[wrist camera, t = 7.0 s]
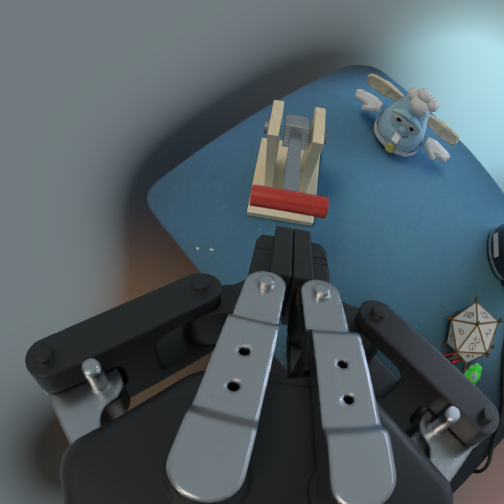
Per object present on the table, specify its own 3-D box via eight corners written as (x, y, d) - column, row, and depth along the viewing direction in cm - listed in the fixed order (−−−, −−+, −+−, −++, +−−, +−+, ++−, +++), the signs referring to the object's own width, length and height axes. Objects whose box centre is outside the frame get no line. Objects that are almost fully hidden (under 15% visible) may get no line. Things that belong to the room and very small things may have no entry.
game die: (444, 344, 35) (471, 390, 26) (420, 320, 33) (452, 372, 24) (484, 303, 32) (519, 344, 22) (466, 273, 30) (508, 316, 21)
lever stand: (311, 226, 35) (338, 179, 23) (247, 215, 35) (242, 163, 23) (318, 152, 37) (340, 89, 25) (261, 142, 38) (263, 76, 25)
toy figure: (330, 131, 38) (357, 56, 24) (359, 96, 40) (387, 29, 25) (422, 199, 36) (482, 148, 21) (441, 156, 38) (490, 104, 23)
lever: (322, 228, 19) (331, 200, 17) (248, 215, 19) (251, 186, 17) (318, 140, 27) (323, 120, 26) (270, 132, 28) (272, 111, 26)
